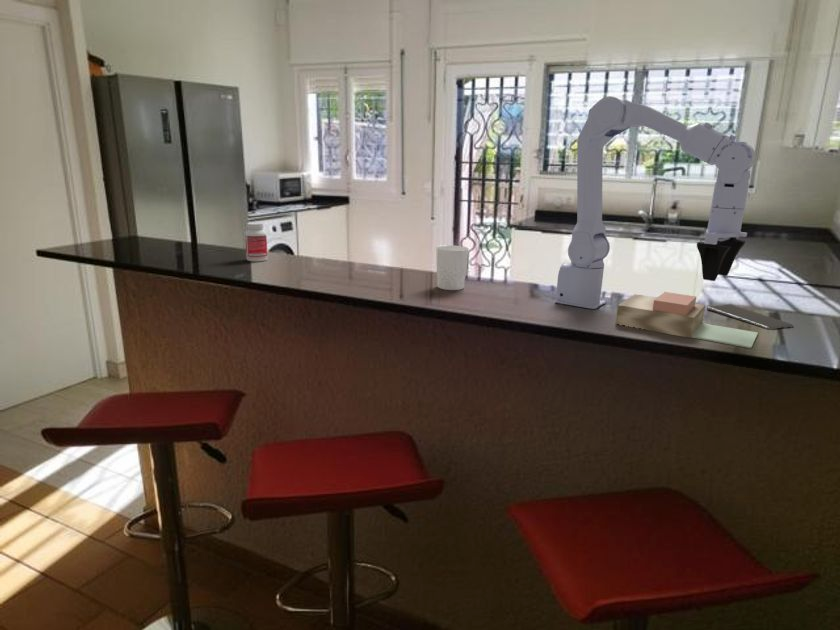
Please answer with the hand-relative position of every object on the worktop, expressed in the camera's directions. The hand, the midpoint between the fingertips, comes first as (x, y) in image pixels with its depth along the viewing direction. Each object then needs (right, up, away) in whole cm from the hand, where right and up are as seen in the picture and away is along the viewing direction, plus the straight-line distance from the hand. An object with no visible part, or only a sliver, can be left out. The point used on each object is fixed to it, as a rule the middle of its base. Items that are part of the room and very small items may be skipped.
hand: (715, 277), depth 113 cm
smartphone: (+12, -9, +10) cm, 18 cm away
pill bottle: (-108, +9, +59) cm, 123 cm away
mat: (0, -11, -4) cm, 12 cm away
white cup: (-51, -1, +31) cm, 59 cm away
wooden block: (-10, -9, +3) cm, 14 cm away
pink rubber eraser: (-8, -6, 0) cm, 10 cm away
